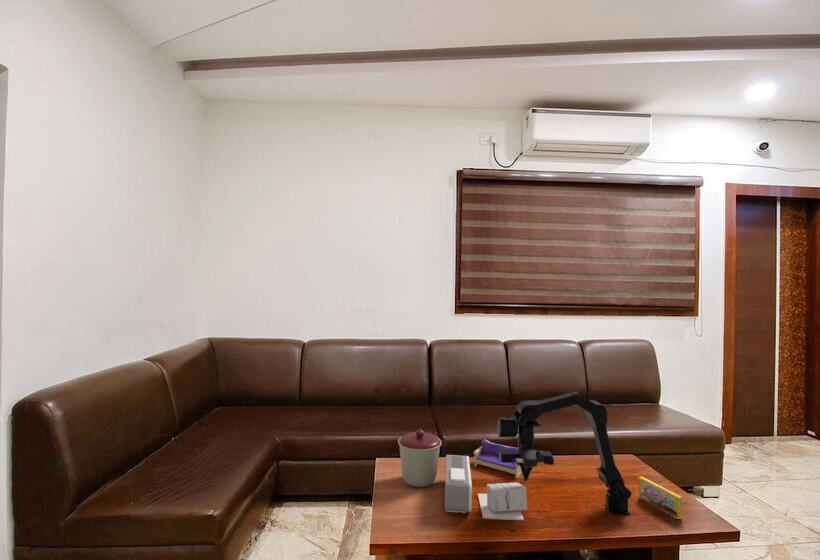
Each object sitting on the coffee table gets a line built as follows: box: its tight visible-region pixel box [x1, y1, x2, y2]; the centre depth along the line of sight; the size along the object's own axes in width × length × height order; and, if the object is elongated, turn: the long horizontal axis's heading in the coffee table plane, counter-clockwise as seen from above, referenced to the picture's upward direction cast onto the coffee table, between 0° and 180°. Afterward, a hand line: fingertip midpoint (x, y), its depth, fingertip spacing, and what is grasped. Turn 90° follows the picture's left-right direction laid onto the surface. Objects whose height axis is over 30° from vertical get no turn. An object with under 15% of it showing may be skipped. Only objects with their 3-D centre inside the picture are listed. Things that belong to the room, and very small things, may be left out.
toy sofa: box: [472, 439, 522, 479], centre depth 180 cm, size 21×9×10 cm, turn 55°
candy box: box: [638, 475, 683, 520], centre depth 150 cm, size 16×2×8 cm, turn 20°
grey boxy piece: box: [444, 454, 473, 514], centre depth 155 cm, size 27×9×12 cm, turn 174°
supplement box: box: [486, 482, 528, 512], centre depth 147 cm, size 7×7×13 cm
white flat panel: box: [477, 492, 525, 521], centre depth 148 cm, size 14×16×1 cm
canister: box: [397, 429, 443, 488], centre depth 167 cm, size 18×18×21 cm
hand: (525, 480), depth 148 cm, fingers closed
